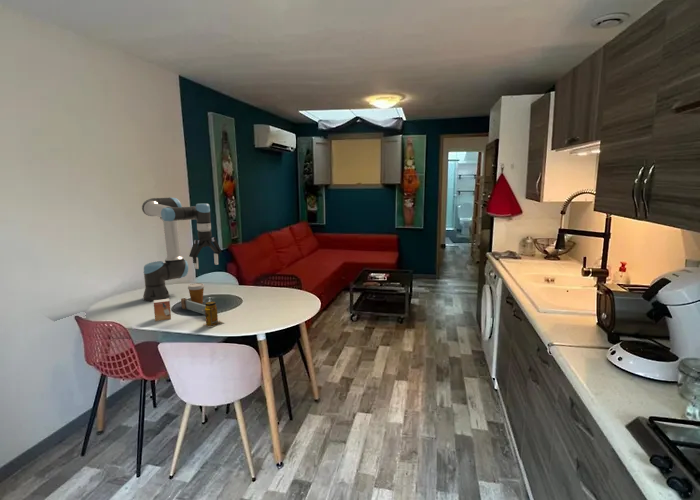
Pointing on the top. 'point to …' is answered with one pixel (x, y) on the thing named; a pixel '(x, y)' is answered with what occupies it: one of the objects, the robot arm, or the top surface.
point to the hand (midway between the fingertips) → (206, 266)
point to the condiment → (211, 314)
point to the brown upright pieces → (183, 303)
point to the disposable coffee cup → (196, 292)
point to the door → (195, 306)
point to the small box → (162, 309)
